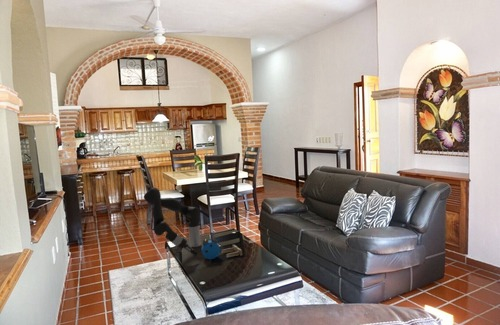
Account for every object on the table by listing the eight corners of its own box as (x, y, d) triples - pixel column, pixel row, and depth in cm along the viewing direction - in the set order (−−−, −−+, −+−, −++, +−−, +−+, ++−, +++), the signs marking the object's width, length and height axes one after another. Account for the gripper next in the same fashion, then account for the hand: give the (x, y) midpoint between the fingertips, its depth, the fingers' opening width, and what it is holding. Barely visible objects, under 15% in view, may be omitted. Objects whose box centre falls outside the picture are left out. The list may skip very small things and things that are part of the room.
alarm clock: (218, 255, 276) (217, 236, 275) (220, 258, 271) (219, 238, 269) (202, 258, 272) (200, 239, 271) (203, 261, 266) (201, 241, 265)
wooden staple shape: (220, 252, 283) (220, 247, 282) (234, 249, 288) (234, 244, 287) (227, 258, 268) (227, 253, 268) (242, 255, 273) (241, 250, 273)
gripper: (173, 243, 266) (191, 255, 272) (177, 248, 254) (196, 261, 260) (180, 234, 267) (197, 247, 273) (184, 239, 255) (202, 252, 261)
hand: (196, 254), depth 267 cm, fingers closed
